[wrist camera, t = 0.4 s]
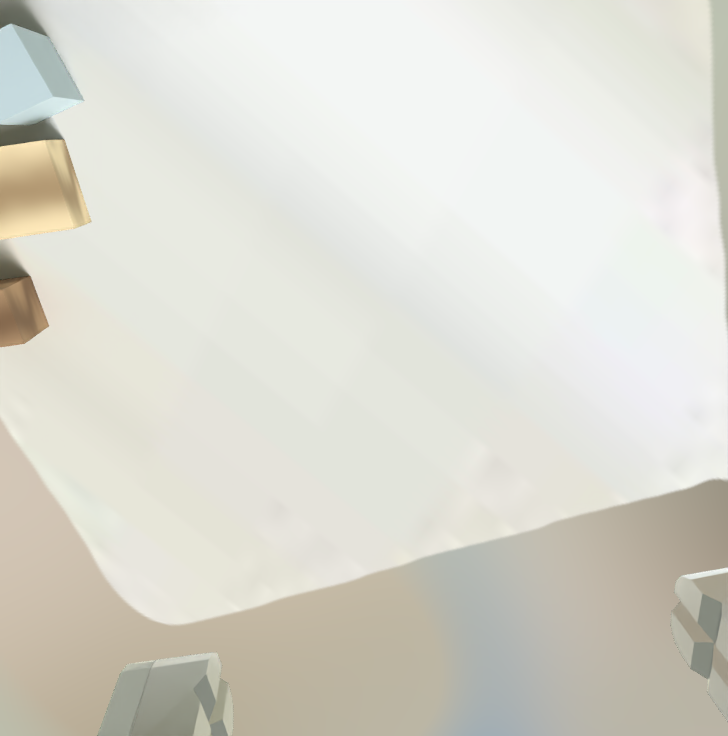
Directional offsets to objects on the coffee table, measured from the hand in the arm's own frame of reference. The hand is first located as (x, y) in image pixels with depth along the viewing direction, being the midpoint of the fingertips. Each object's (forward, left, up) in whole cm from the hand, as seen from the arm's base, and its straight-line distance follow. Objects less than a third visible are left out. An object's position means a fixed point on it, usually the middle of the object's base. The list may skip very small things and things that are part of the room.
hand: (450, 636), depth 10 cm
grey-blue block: (-15, -23, -46) cm, 54 cm away
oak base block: (-7, -26, -46) cm, 54 cm away
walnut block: (+3, -32, -46) cm, 56 cm away
